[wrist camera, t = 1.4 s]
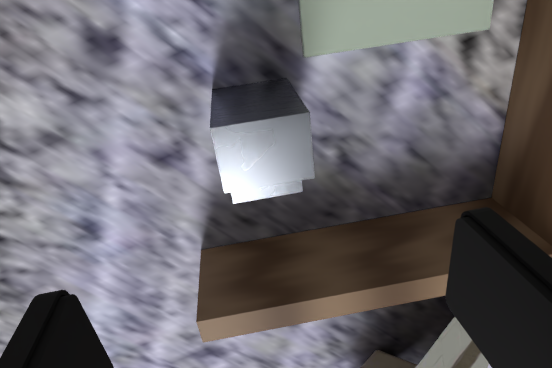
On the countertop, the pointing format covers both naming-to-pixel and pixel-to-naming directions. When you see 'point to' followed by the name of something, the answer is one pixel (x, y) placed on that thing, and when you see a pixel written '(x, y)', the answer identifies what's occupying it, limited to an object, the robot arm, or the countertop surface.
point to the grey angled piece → (438, 353)
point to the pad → (385, 22)
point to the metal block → (261, 140)
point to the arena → (389, 229)
